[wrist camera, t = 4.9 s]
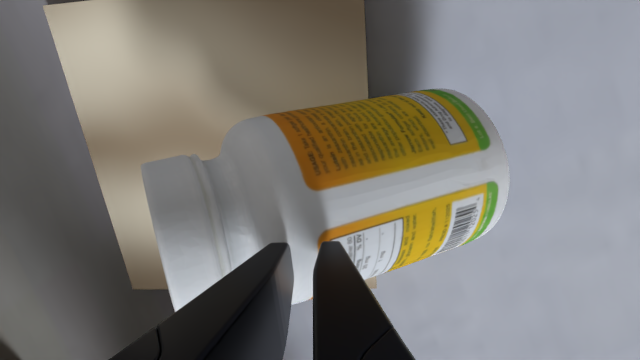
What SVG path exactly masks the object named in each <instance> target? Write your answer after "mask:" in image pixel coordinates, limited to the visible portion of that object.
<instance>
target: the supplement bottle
mask: <svg viewBox="0 0 640 360" xmlns="http://www.w3.org/2000/svg"><path fill="white" fill-rule="evenodd" d="M141 173H142V179H143V184H144V188H145V192H146V197H147V202H148V206H149V211H150V215H151V219H152V224H153V228H154V232H155V237H156V241H157V245H158V249H159V253H160V257H161V261H162V265H163V269H164V273H165V277H166V281H167V285H168V289H169V293H170V297H171V301H172V304H173V308H174V311H175V312H176V311H178V310H179V309H180V308H182V307H183V306H184V305H186V304H187V303H189V302H190V301H191V300H193V299H194V298H195V297H197V296H198V295H200V294H201V293H202V292H204V291H205V290H206V289H208V288H209V287H211V286H212V285H213V284H215V283H216V282H217V281H219V280H220V279H222V278H223V277H224V276H226V275H227V274H228V273H230V272H231V271H233V270H234V269H235V268H237V267H238V266H239V265H241V264H242V263H243V262H245V261H246V260H248V259H249V258H250V257H252V256H253V255H254V254H256V253H257V252H259V251H260V250H261V249H263V248H264V247H265V246H267V245H268V244H270V243H277V242H286V243H288V244H289V246H290V250H291V257H292V264H293V272H294V286H293V294H292V302H291V305H293V304H297V303H300V302H303V301H307V300H310V299H313V270H314V266H315V262H316V259H317V255H318V252H319V249H320V245H321V243H322V242H324V241H339V242H340V243H341V244H342V245H343V247H344V249H345V250H346V252H347V253H348V255H349V257H350V258H351V260H352V261H353V263H354V265H355V266H356V268H357V269H358V271H359V273H360V274H361V276H362V277H363V279H364V280H366V279H369V278H371V277H374V276H377V275H380V274H383V273H386V272H389V271H391V270H394V269H397V268H400V267H403V266H406V265H408V264H411V263H414V262H417V261H419V260H422V259H425V258H428V257H431V256H434V255H436V254H439V253H442V252H445V251H448V250H450V249H453V248H456V247H458V246H461V245H464V244H466V243H468V242H471V241H473V240H475V239H478V238H480V237H481V236H483V235H484V234H486V233H487V232H488V231H489V230H491V229H492V228H493V226H494V225H495V224H496V223H497V221H498V220H499V218H500V217H501V215H502V212H503V210H504V208H505V205H506V202H507V198H508V192H509V183H510V177H509V167H508V160H507V155H506V152H505V149H504V146H503V143H502V140H501V138H500V136H499V133H498V131H497V129H496V128H495V126H494V124H493V122H492V121H491V120H490V118H489V117H488V115H487V114H486V113H485V112H484V110H483V109H482V108H481V107H480V106H479V105H477V104H476V103H475V102H474V101H473V100H472V99H470V98H469V97H467V96H466V95H464V94H462V93H459V92H457V91H454V90H449V89H430V90H421V91H414V92H407V93H402V94H396V95H389V96H383V97H376V98H370V99H364V100H357V101H351V102H345V103H339V104H333V105H326V106H320V107H313V108H305V109H297V110H292V111H287V112H280V113H274V114H268V115H262V116H259V117H254V118H249V119H246V120H243V121H241V122H239V123H237V124H235V125H234V126H233V127H232V128H231V129H230V130H229V131H228V133H227V134H226V136H225V138H224V140H223V142H222V146H221V151H220V155H219V156H218V157H216V158H214V159H211V160H200V158H199V157H198V155H196V154H192V155H191V156H190V157H189V156H186V155H179V156H175V157H170V158H166V159H161V160H156V161H151V162H146V163H144V164H142V165H141Z"/></svg>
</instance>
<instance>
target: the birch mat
mask: <svg viewBox="0 0 640 360" xmlns="http://www.w3.org/2000/svg"><path fill="white" fill-rule="evenodd" d="M43 8H44V11H45V14H46V17H47V20H48V24H49V27H50V30H51V33H52V36H53V39H54V42H55V46H56V49H57V52H58V55H59V58H60V61H61V64H62V68H63V71H64V74H65V77H66V80H67V83H68V86H69V90H70V93H71V96H72V99H73V102H74V105H75V108H76V112H77V115H78V118H79V121H80V124H81V127H82V130H83V134H84V137H85V140H86V143H87V146H88V149H89V152H90V156H91V159H92V162H93V165H94V168H95V171H96V174H97V178H98V181H99V184H100V187H101V190H102V193H103V196H104V200H105V203H106V206H107V209H108V212H109V215H110V218H111V222H112V225H113V228H114V231H115V234H116V237H117V240H118V244H119V247H120V250H121V253H122V256H123V259H124V262H125V266H126V269H127V272H128V275H129V278H130V281H131V284H132V288H133V289H168V285H167V281H166V277H165V273H164V269H163V265H162V261H161V257H160V253H159V249H158V245H157V241H156V237H155V232H154V228H153V224H152V219H151V215H150V211H149V206H148V202H147V197H146V192H145V188H144V184H143V179H142V173H141V165H142V164H144V163H146V162H151V161H156V160H161V159H166V158H170V157H175V156H179V155H186V156H189V157H190V156H191V155H192V154H196V155H198V157H199V158H200V160H211V159H214V158H216V157H218V156H219V155H220V151H221V146H222V142H223V140H224V138H225V136H226V134H227V133H228V131H229V130H230V129H231V128H232V127H233V126H234V125H235V124H237V123H239V122H241V121H243V120H246V119H249V118H254V117H259V116H262V115H268V114H274V113H280V112H287V111H292V110H297V109H305V108H313V107H320V106H326V105H333V104H339V103H345V102H351V101H357V100H364V99H368V77H367V54H366V31H365V8H364V0H89V1H80V2H71V3H62V4H53V5H44V6H43ZM365 282H366V284H367V285H368V287H369V288H377V286H376V276H374V277H371V278H369V279H366V280H365Z"/></svg>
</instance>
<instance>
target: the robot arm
mask: <svg viewBox="0 0 640 360" xmlns="http://www.w3.org/2000/svg"><path fill="white" fill-rule="evenodd" d="M293 286H294V272H293V264H292V257H291V250H290V246H289V244H288V243H286V242H277V243H270V244H268V245H267V246H265V247H264V248H263V249H261V250H260V251H259V252H257V253H256V254H254V255H253V256H252V257H250V258H249V259H248V260H246V261H245V262H243V263H242V264H241V265H239V266H238V267H237V268H235V269H234V270H233V271H231V272H230V273H228V274H227V275H226V276H224V277H223V278H222V279H220V280H219V281H217V282H216V283H215V284H213V285H212V286H211V287H209V288H208V289H206V290H205V291H204V292H202V293H201V294H200V295H198V296H197V297H195V298H194V299H193V300H191V301H190V302H189V303H187V304H186V305H184V306H183V307H182V308H180V309H179V310H178V311H176V312H175V313H173V314H172V315H171V316H169V317H168V318H167V319H165V320H164V321H162V322H161V323H160V324H158V326H157V328H153V329H151V330H150V331H149V332H147V333H146V334H144V335H143V336H142V337H140V338H139V339H138V340H136V341H135V342H133V343H132V344H130V345H129V346H128V347H126V348H125V349H123V350H122V351H120V352H119V353H118V354H116V355H115V356H113V357H112V358H110V359H109V360H282V359H283V355H284V351H285V346H286V340H287V333H288V325H289V318H290V310H291V302H292V294H293ZM313 360H415V358H414V357H413V355H412V354H411V352H410V351H409V349H408V348H407V347H406V345H405V344H404V342H403V341H402V339H401V337H400V336H399V334H398V333H397V331H396V330H395V329H394V327H393V325H392V323H391V322H390V320H389V319H388V317H387V315H386V314H385V312H384V311H383V309H382V308H381V306H380V304H379V303H378V301H377V300H376V298H375V296H374V295H373V293H372V292H371V290H370V288H369V287H368V285H367V284H366V282H365V280H364V279H363V277H362V276H361V274H360V273H359V271H358V269H357V268H356V266H355V265H354V263H353V261H352V260H351V258H350V257H349V255H348V253H347V252H346V250H345V249H344V247H343V245H342V244H341V243H340V242H339V241H324V242H322V243H321V245H320V249H319V252H318V255H317V259H316V262H315V266H314V270H313Z"/></svg>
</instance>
